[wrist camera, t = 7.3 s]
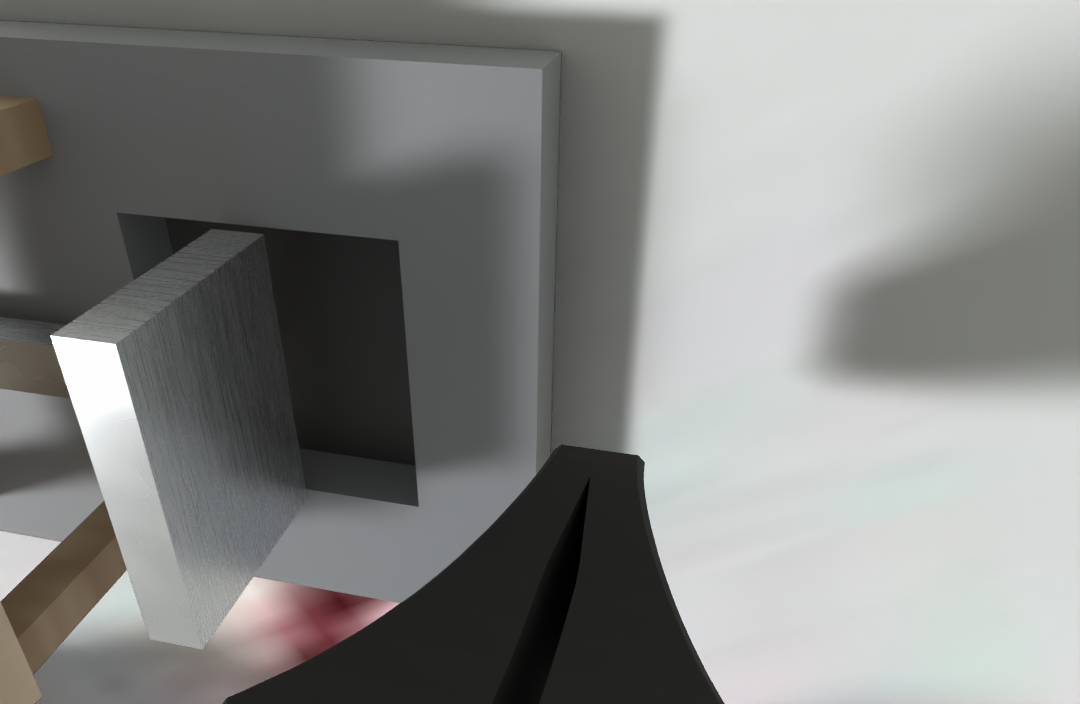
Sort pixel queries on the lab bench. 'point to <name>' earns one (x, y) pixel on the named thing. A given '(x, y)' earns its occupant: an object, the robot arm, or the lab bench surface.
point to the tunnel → (85, 554)
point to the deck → (307, 265)
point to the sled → (180, 424)
